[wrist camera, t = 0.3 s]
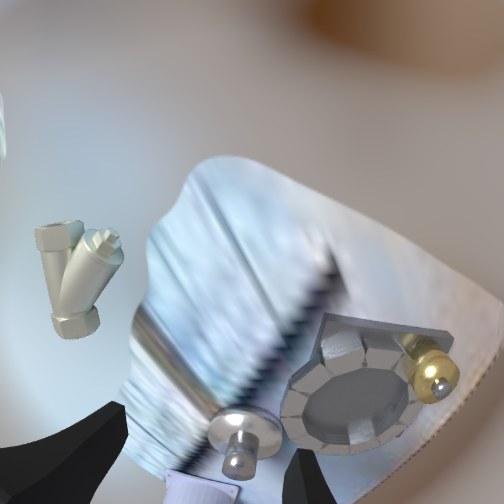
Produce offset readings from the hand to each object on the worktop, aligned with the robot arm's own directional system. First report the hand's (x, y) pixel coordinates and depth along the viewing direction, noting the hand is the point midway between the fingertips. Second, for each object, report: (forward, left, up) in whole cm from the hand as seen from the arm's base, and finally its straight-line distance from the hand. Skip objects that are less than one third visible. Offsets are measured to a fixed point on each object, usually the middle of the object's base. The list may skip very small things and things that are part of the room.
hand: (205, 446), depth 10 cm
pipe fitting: (+2, +11, -10) cm, 15 cm away
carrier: (-2, -10, -10) cm, 14 cm away
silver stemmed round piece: (-9, -2, -10) cm, 14 cm away
